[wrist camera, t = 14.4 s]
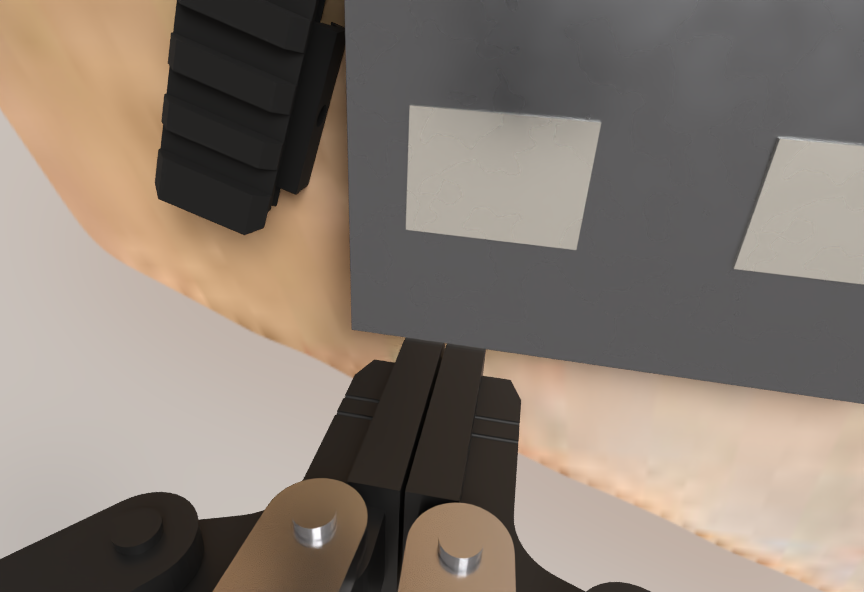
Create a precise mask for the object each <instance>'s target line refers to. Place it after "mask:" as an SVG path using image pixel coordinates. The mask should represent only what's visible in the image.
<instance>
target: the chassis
mask: <svg viewBox="0 0 864 592" xmlns="http://www.w3.org/2000/svg"><path fill="white" fill-rule="evenodd" d="M345 42H346V88H347V133H348V179H349V225H350V271H351V317H352V330H358V331H365V332H372V333H379V334H386V335H393V336H400V337H407V338H414V339H421V340H428V341H435V342H442V343H450V344H457V345H464V346H470V347H477V348H484V349H489V350H496V351H503V352H510V353H517V354H524V355H531V356H537V357H544V358H551V359H558V360H565V361H572V362H579V363H586V364H593V365H599V366H606V367H613V368H620V369H627V370H634V371H641V372H648V373H655V374H661V375H668V376H675V377H682V378H689V379H696V380H703V381H710V382H717V383H723V384H730V385H737V386H744V387H751V388H758V389H765V390H772V391H779V392H785V393H792V394H799V395H806V396H813V397H820V398H827V399H834V400H841V401H847V402H854V403H861V404H864V0H345Z"/></svg>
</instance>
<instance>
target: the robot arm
mask: <svg viewBox="0 0 864 592" xmlns="http://www.w3.org/2000/svg"><path fill="white" fill-rule="evenodd" d="M485 352H486V349H484V348H477V347H470V346H464V345H457V344H450V343H447V345H446V348H445V343H442V342H435V341H428V340H421V339H414V338H407V337H406V338H405V340H404V342H403V345H402V347H401V350H400V352H399V354H398V357H397V359H396V362H395V363H393V362H387V361H380V360H373V361H372V362H371V363H369V364H368V365H367V366H366V367H364V368H363V369H362V370H360V371H359V372H358V373H357V374H355V376H354V378H353V380H352V382H351V384H350V386H349V388H348V390H347V392H346V394H345V398H344V399H343V400H342V402H341V405H340V406H339V408H338V410H337V415H335V416H334V418H333V420H332V422H331V424H330V426H329V429H328V431H327V433H326V435H325V437H324V439H323V441H322V443H321V445H320V447H319V449H318V451H317V453H316V455H315V457H314V459H313V461H312V463H311V465H310V467H309V469H308V471H307V473H306V475H305V477H304V479H303V480H302V481H301V482H298V483H295V484H293V485H291V486H289V487H287V488H285V489H284V490H283V491H281V492H280V493H279V494H277V496H276V497H274V498H273V499H272V501H271V502H270V503H269V504H268V506H267V507H266V509H265V510H263V511H260V512H256V513H253V514H247V515H241V516H231V517H222V518H211V519H201V520H198V516H197V512H196V510H195V508H194V507H193V505H192V504H191V503H190V502H189V501H188V500H186V499H185V498H183V497H181V496H179V495H177V494H172V493H166V492H152V493H146V494H141V495H137V496H134V497H131V498H129V499H126V500H124V501H121V502H119V503H117V504H115V505H113V506H111V507H109V508H107V509H105V510H103V511H100V512H98V513H96V514H94V515H92V516H90V517H88V518H86V519H84V520H82V521H79V522H78V523H75V524H73V525H71V526H69V527H67V528H65V529H63V530H61V531H58V532H56V533H54V534H52V535H50V536H48V537H46V538H44V539H42V540H40V541H38V542H35V543H33V544H31V545H29V546H27V547H25V548H23V549H21V550H19V551H16V552H14V553H12V554H10V555H8V556H6V557H4V558H2V559H0V592H585V591H583V590H581V589H579V588H577V587H576V586H574V585H572V584H570V583H567V582H566V581H564V580H562V579H560V578H558V577H556V576H555V575H553V574H551V573H550V572H548V571H546V570H545V569H544V568H542V567H541V566H540V565H538V564H537V563H536V562H535V561H534V560H533V559H532V558H531V557H530V556H529V554H528V553H527V552H526V551H525V549H524V548H523V546H522V545H521V543H520V541H519V539H518V536H517V534H516V531H515V526H514V502H515V487H516V471H517V456H518V440H519V423H520V409H521V399H520V397H519V395H518V394H517V392H516V390H515V388H514V386H513V384H512V382H511V380H507V379H500V378H493V377H487V376H483V369H484V361H485ZM586 592H650V591H648V590H646V589H644V588H641V587H639V586H636V585H632V584H628V583H622V582H608V583H603V584H600V585H597V586H594V587H592V588H591V589H589V590H588V591H586Z"/></svg>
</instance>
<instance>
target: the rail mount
mask: <svg viewBox="0 0 864 592" xmlns="http://www.w3.org/2000/svg"><path fill="white" fill-rule="evenodd" d="M324 4H325V0H177V4H176V13H175V22H174V31H173V33H171V39H170V48H169V57H168V64H169V65H170V68H169V77H168V86H167V94H164V104H163V113H162V123H163V131H162V140H161V149H159V150H158V159H157V168H156V178H155V186H156V190H157V195H158V199H160V200H162V201H164V202H167V203H169V204H172V205H174V206H176V207H179V208H181V209H184V210H186V211H188V212H191V213H193V214H195V215H198V216H200V217H203V218H205V219H207V220H210V221H212V222H214V223H217V224H219V225H222V226H224V227H226V228H229V229H231V230H233V231H236V232H238V233H241V234H243V235H246V234H249V233H252V232H254V231H257V230H260V229H262V228H264V226H265V222H266V218H267V213H268V211H270V210H271V206H277V202H278V197H279V193H280V189H284V190H286V191H288V192H291V193H293V194H297V193H299V192H300V191H301V190H302V189H303V188H305V187H306V186H307V185H308V183H309V179H310V176H311V172H312V168H313V164H314V161H315V157H316V153H317V149H318V145H319V142H320V138H321V134H322V130H323V127H324V123H325V119H326V115H327V111H328V108H329V104H330V100H331V96H332V93H333V89H334V85H335V81H336V77H337V74H338V70H339V66H340V62H341V59H342V55H343V51H344V47H345V43H346V42H345V28H344V27H342V26H339V25H337V24H335V23H333V22H331V25H328V24H324V23H320V20H321V16H322V12H323V8H324Z"/></svg>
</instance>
